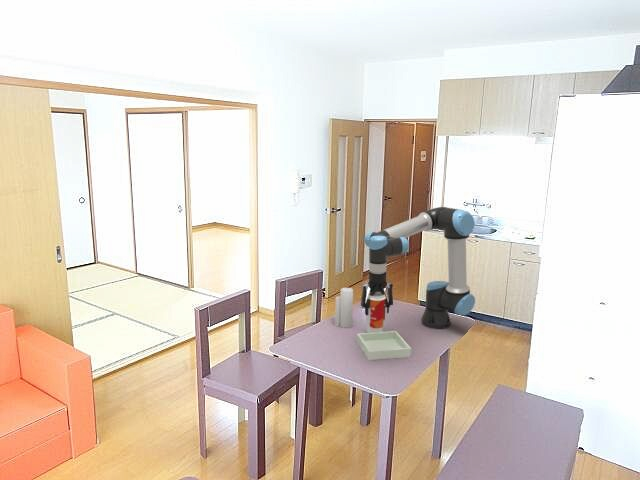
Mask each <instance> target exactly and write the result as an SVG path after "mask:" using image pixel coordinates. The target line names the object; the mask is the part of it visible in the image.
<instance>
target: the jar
mask: <svg viewBox="0 0 640 480" xmlns="http://www.w3.org/2000/svg"><path fill="white" fill-rule="evenodd" d="M383 322H385V321H384V320H383ZM375 332H384V326H383V327H382V328H372V327H370V324H369V323H368V321H367V315H366V314H365V333H375Z"/></svg>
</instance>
